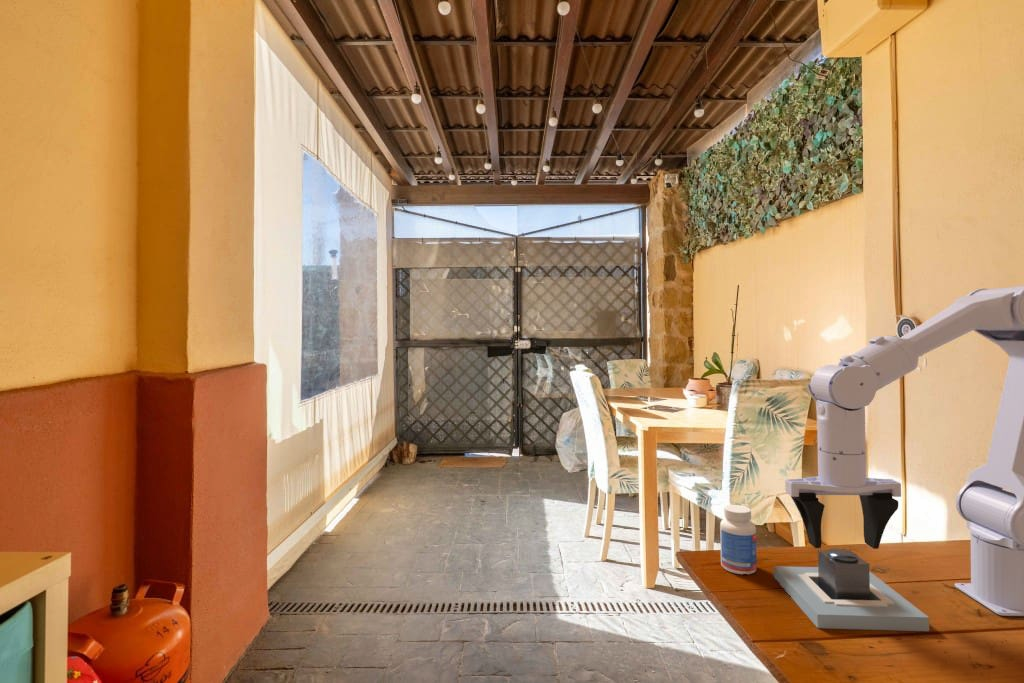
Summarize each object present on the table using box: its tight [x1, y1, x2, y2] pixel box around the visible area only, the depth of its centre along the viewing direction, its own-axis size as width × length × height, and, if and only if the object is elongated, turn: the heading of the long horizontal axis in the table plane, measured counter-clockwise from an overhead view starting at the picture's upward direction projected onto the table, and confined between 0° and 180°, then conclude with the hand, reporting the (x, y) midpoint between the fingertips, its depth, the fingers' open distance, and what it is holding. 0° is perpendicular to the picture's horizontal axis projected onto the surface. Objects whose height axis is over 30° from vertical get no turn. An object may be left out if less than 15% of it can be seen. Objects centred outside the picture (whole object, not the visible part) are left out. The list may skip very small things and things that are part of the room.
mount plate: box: [773, 565, 930, 632], centre depth 72 cm, size 14×14×2 cm
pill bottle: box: [719, 504, 758, 575], centre depth 83 cm, size 6×5×10 cm
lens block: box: [817, 548, 870, 600], centre depth 72 cm, size 4×4×7 cm
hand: (843, 545), depth 72 cm, fingers open, 7 cm apart
